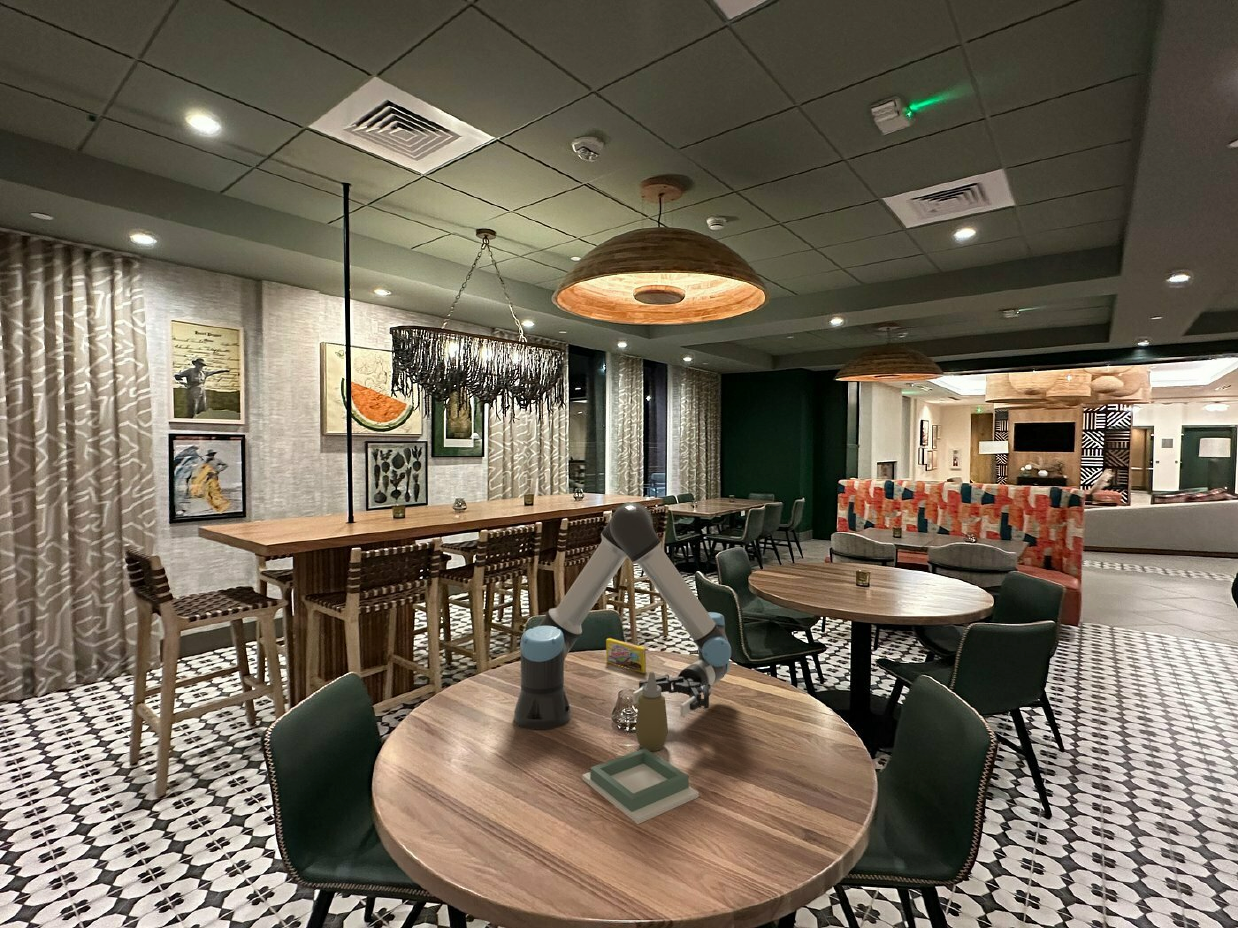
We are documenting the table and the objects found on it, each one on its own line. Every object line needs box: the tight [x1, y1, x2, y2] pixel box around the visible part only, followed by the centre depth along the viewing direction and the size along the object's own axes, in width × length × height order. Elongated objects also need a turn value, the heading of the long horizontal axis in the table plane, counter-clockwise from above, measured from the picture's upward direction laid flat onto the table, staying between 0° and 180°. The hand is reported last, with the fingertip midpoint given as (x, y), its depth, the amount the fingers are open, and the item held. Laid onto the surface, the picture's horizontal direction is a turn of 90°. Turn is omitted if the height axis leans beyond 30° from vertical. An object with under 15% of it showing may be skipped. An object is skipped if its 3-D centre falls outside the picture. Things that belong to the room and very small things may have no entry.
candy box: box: [605, 637, 647, 674], centre depth 203 cm, size 16×2×8 cm, turn 50°
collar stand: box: [581, 748, 700, 825], centre depth 128 cm, size 20×16×4 cm
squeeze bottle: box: [635, 671, 669, 752], centre depth 147 cm, size 8×8×18 cm
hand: (657, 704), depth 148 cm, fingers open, 13 cm apart
